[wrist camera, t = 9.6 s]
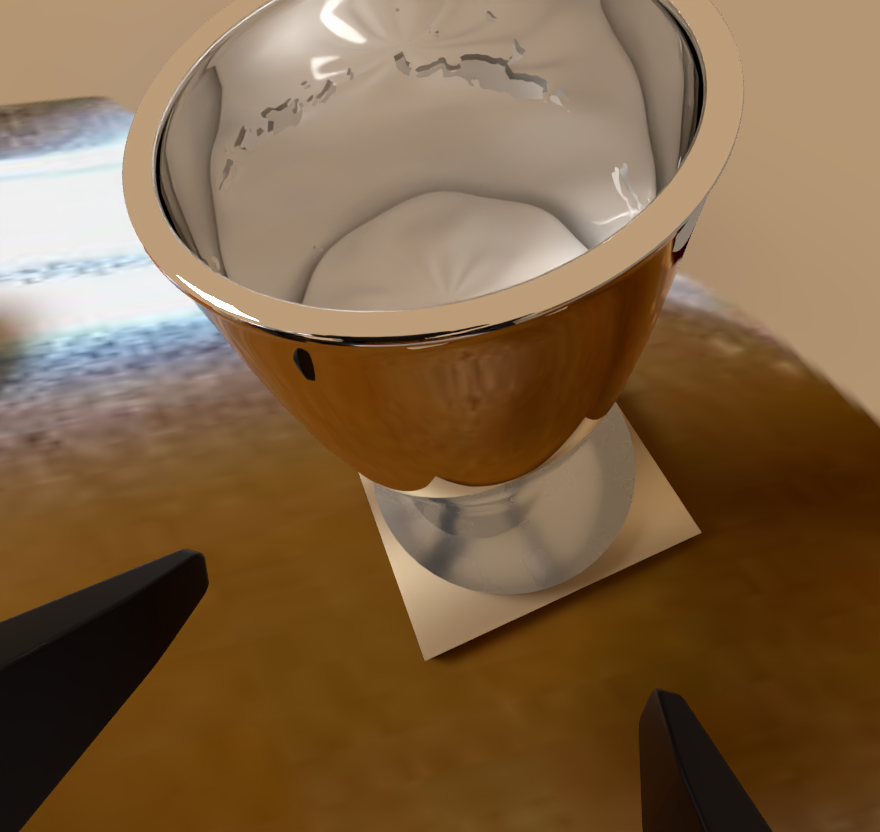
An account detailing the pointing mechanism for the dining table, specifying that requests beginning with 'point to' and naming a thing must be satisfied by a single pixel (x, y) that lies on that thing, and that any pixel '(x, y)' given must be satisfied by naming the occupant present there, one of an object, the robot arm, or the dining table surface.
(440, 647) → the base plate
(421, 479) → the beer glass
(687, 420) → the dining table surface
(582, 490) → the flange
